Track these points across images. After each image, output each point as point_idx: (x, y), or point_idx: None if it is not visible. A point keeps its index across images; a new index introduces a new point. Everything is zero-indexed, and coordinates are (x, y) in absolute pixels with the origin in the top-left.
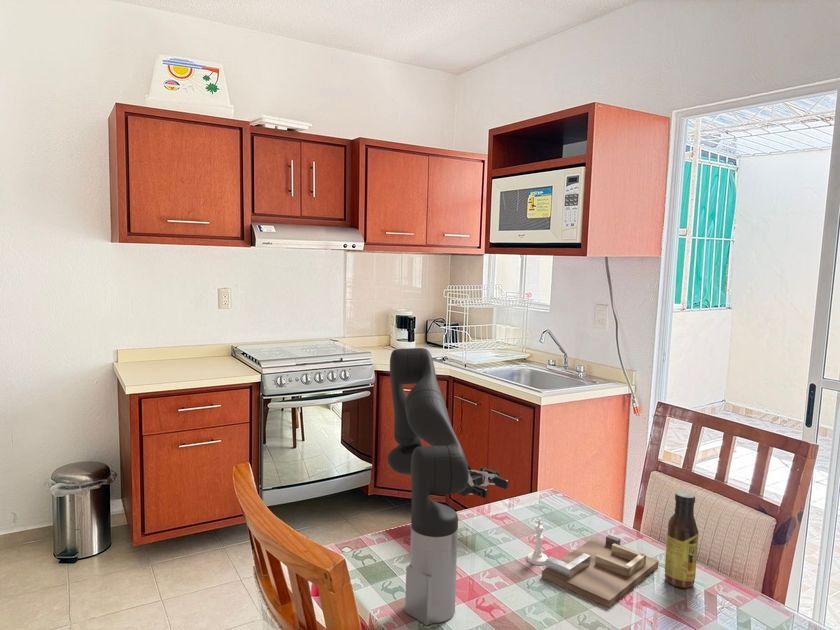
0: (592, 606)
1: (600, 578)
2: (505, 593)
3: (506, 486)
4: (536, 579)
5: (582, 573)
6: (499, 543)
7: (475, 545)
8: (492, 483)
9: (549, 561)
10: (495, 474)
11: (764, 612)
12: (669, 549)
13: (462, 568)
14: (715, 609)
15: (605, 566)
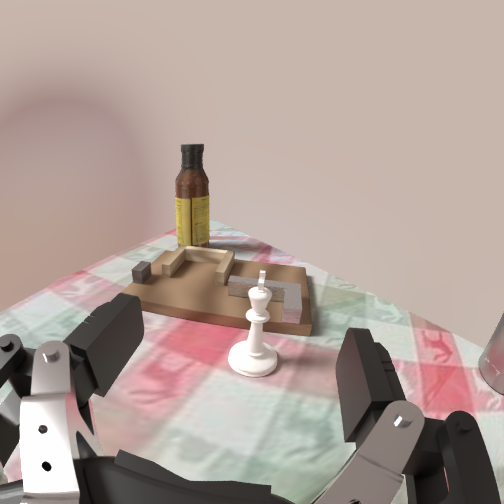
0: (317, 284)
1: None
2: (398, 349)
3: (141, 322)
4: (322, 339)
5: None
6: (234, 454)
7: (303, 497)
8: (91, 409)
9: (301, 306)
10: (47, 348)
11: (209, 224)
12: (203, 212)
13: None
14: (228, 236)
15: (227, 275)
